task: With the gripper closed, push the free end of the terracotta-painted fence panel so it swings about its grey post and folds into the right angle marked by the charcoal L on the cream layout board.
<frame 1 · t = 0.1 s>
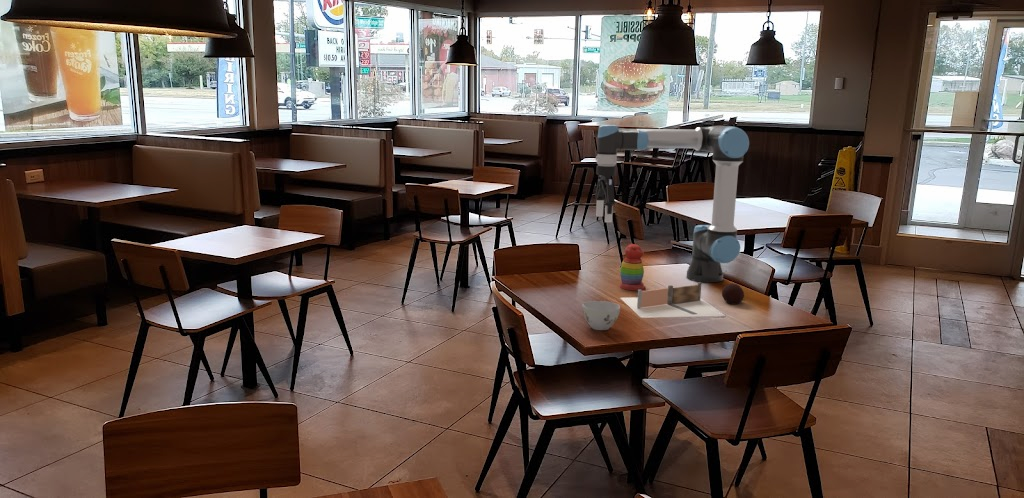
hand: (603, 219, 299), 28 cm above the table, tool pointing down, fingers open, 13 cm apart
layout board: (670, 308, 279), on the table
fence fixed: (669, 304, 282), resting on layout board
fence panel: (652, 297, 277), point 4 cm above the table, hinge at 0.0°
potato: (732, 304, 287), on the table
stacking bear: (632, 287, 307), on the table
teacup: (598, 327, 255), on the table
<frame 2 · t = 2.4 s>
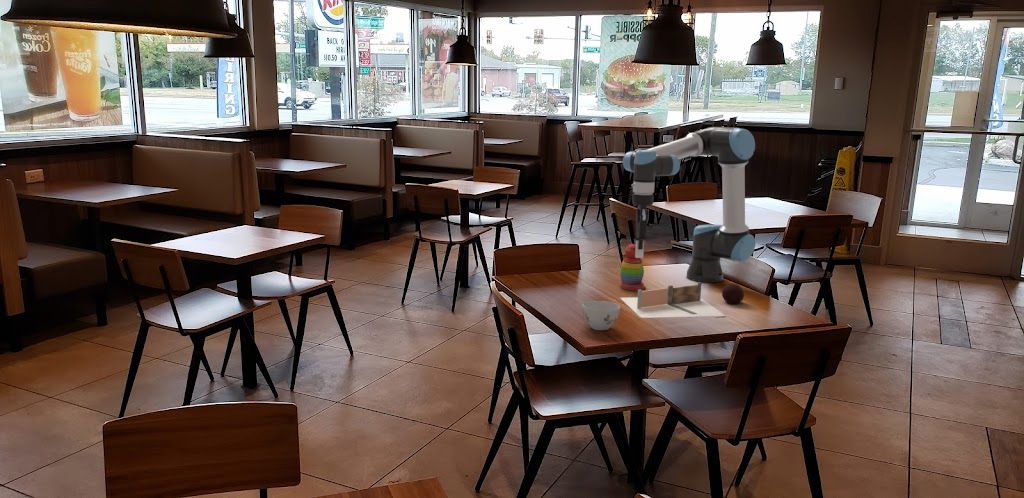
hand: (639, 257, 278), 18 cm above the table, tool pointing down, fingers closed
nothing on the table moved.
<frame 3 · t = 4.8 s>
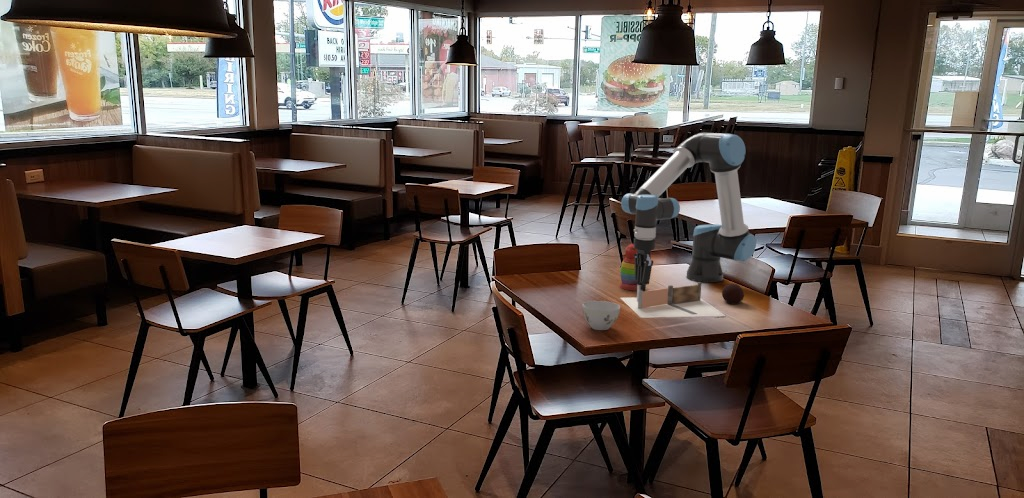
hand: (640, 301, 278), 2 cm above the table, tool pointing down, fingers closed
fence panel: (652, 297, 277), point 4 cm above the table, hinge at 1.5°, touching gripper
everything else where it was.
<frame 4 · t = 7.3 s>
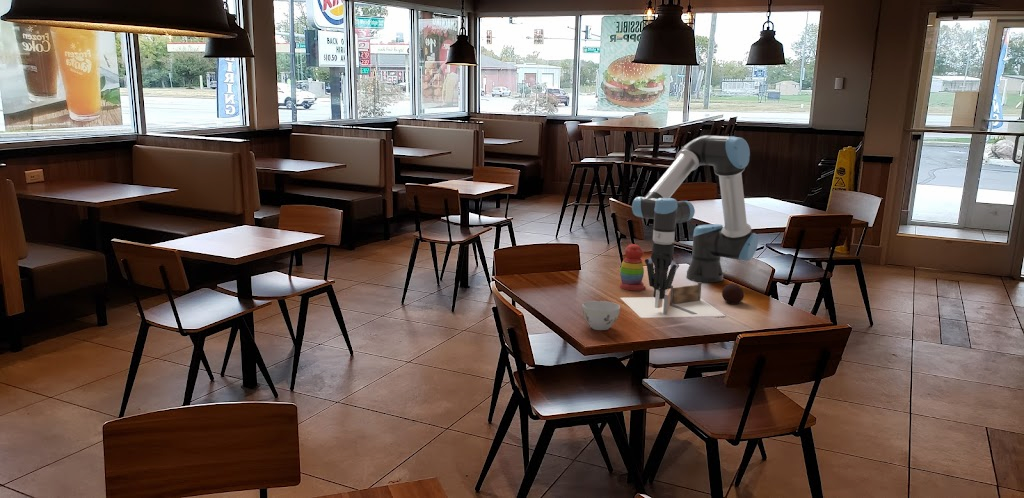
hand: (658, 307, 271), 2 cm above the table, tool pointing down, fingers closed
fence panel: (667, 300, 274), point 4 cm above the table, hinge at 44.2°, touching gripper
everything else where it was.
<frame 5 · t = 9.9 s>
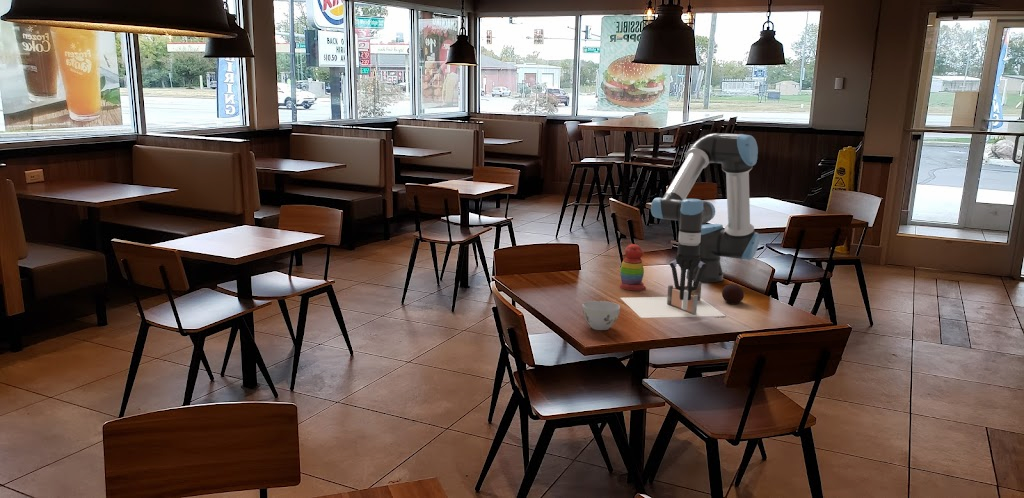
hand: (684, 308, 270), 2 cm above the table, tool pointing down, fingers closed
fence panel: (684, 300, 274), point 4 cm above the table, hinge at 88.4°
everything else where it was.
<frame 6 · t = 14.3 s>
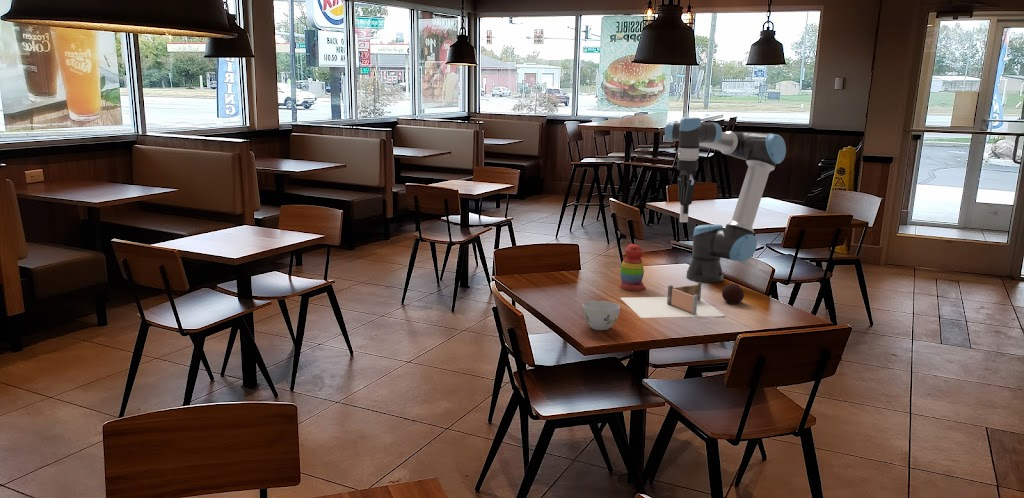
hand: (683, 221, 289), 29 cm above the table, tool pointing down, fingers closed
nothing on the table moved.
at the end: fence panel at +88° (first picture: +0°); the gripper is holding nothing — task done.
